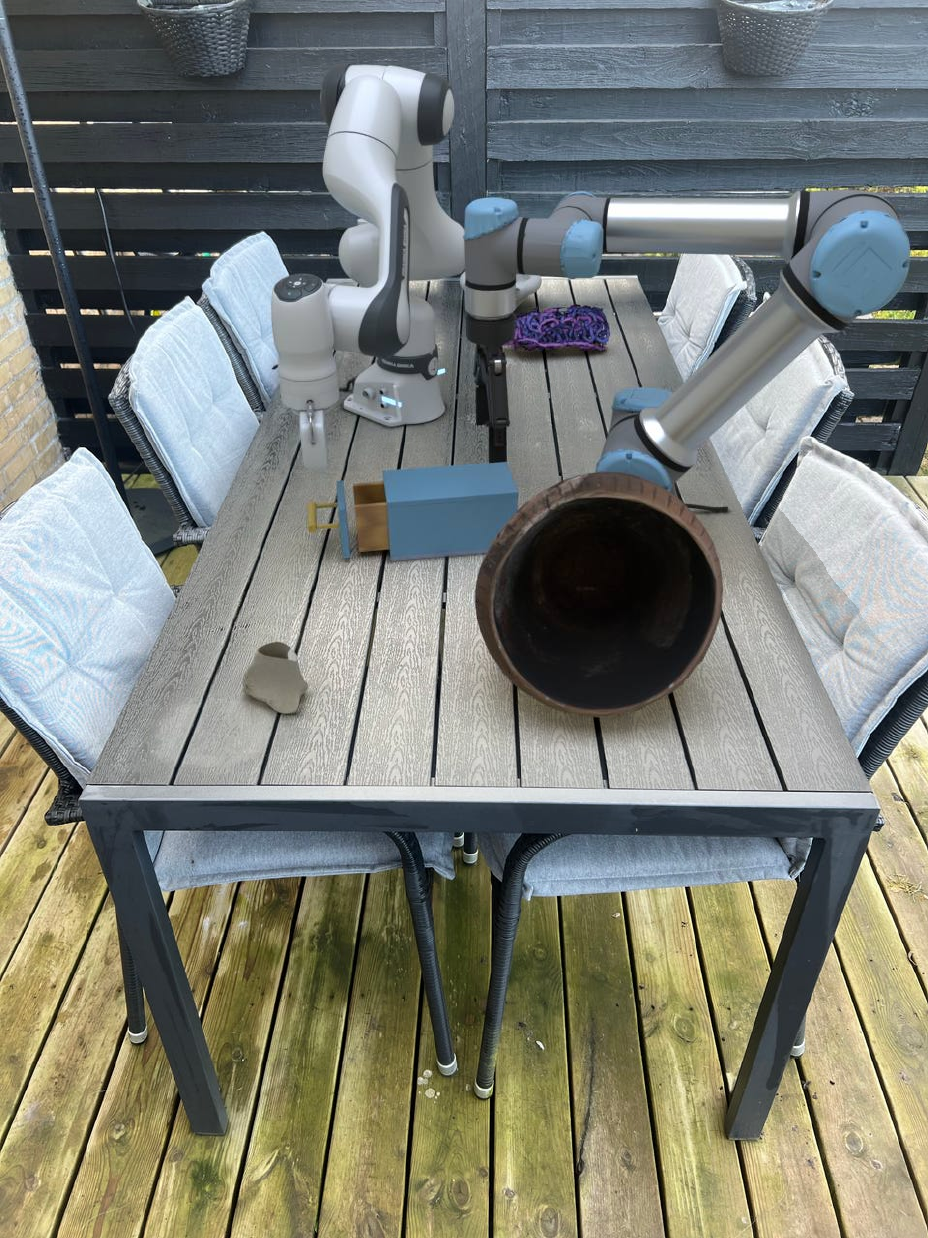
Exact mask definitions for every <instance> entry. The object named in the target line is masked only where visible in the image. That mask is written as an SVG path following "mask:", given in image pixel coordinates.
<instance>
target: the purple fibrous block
mask: <svg viewBox="0 0 928 1238" xmlns="http://www.w3.org/2000/svg"><path fill="white" fill-rule="evenodd" d="M538 308H539V307H538V306H535V307H533V308H532V309H530V311H529V312H520V313H519V314H517V315H516V333H515V337H514V339H513V340H512V341H510V342H509V343H505V344H504V345H502V350H504V347H507V346H508V347H507V349H508V348H510V347H512V348H513V353H516V352H517V351H518V349H523V350H524V351H526V352H531V353H532V352H536V351H537V350H538V351H539V352H541V351H545V349H548V350H551V351H552V353H553V354H555V350H556V348H562V349H567V348H572V347H578V348H579V349H580V352H591V351H597V352H600V353H602V351H605V352H606V346H607V345H608V344H607V342H608V341H609V340H610V337H611V332H610V324H609V322H608V320H607V316H606V314H605V313H604V308H603V307H601V308H600V307H597V306H591V305H586V304H584V305H581V304H578V303H574V304H571V305H570V306H562V307H561V306H560V307H558V306H557V307H550V308H546V309H544V310H541V311H540V312H538ZM562 309H566V310H564V311H563V310H562ZM561 310H562V311H561Z"/></svg>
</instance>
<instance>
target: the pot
mask: <svg viewBox="0 0 928 1238" xmlns="http://www.w3.org/2000/svg"><path fill="white" fill-rule="evenodd" d="M684 503H685V502H683V501H682V500H681V499H680V498H679V496H677V497H676V496H675V495H674V494H672V493H671V492H669V491H668V490H666V489H665V488H663V487H661V486H659V485H657V484H655V483H654V482H651V481H649V480H646V479H644V478H641V477H639V476H636V475H633V474H627V473H621V472H605V471H600V472H596V471H594V472H589V473H584V474H579V475H575V476H573V477H568V478H566V479H563V480H561V481H559V482H556V484H553V485H552V486H549V487H548V488H546V489H544V490H542V491H540V492H538V493H537V494H536V495H534V496H533V497H531V498H530V499H528V500H527V501H526V502H525V503H523V505H521V506H520V507H518V511H517V512H516V513H515V514H514V515H513V516H512V517H511V519H510V520H509V521H508V522H507V523H506V524H505V525H504V526H503V527H502V529H501V530H500V532H499V533H498V534H497V535H496V536H495V538H494V540H493V541H492V543H491V545H490V547H489V549H488V551H487V553H485V554H484V557H483V559H482V562H481V564H480V567H479V569H478V574H477V578H476V582H475V588H474V606H475V616H476V617H475V618H476V621H477V625H478V629H479V631H480V634H481V637H482V639H483V641H484V644H485V646H486V648H487V650H488V653H489V654H490V656H491V658H492V661H494V663H495V665H497V667H498V669H499V670H500V672H501V673H502V675H503V676H505V677H506V678H507V679H508V680H509V681H510V682H511V683H512V684H513V685H515V686H516V687H517V689H519V690H520V691H522V692H523V693H524V694H526V695H527V696H528V697H530V698H532V699H533V700H535V701H536V702H538V703H540V704H542V705H545V706H546V707H548V708H551V709H553V710H555V711H559V712H561V713H566V714H567V713H568V714H571V715H577V716H582V717H589V718H606V717H615V716H616V717H617V716H621V715H623V714H628V713H630V712H635V711H639V710H642V709H644V708H646V707H648V706H650V705H652V704H654V703H657V702H658V701H660V700H662V699H664V698H666V697H667V696H668V695H669V694H671V693H673V692H674V691H676V690H677V689H679V687H681V686H682V685H683V684H684V683H685V681H686V680H688V679H689V678H690V677H691V675H692V674H693V672H694V671H695V669H697V667H698V666H699V665H700V664H702V662H703V661H704V659H705V657H706V655H707V653H708V651H709V649H710V647H711V645H712V643H713V640H714V636H715V634H716V631H717V628H718V626H719V623H720V619H721V615H722V610H723V601H724V600H723V599H724V598H723V597H724V584H723V583H724V582H723V571H722V567H721V562H720V559H719V556H718V553H717V549H716V546H715V543H714V541H713V539H712V538H711V536H710V534H709V533H708V531H707V529H706V527H705V526H704V525H703V523H702V522H701V520H700V519H699V518H698V516H697V515H696V514H695V513H694V512H693V511H692V510H691V508H688V507H687V506H686V505H685V504H684Z"/></svg>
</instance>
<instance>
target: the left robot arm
mask: <svg viewBox="0 0 928 1238" xmlns="http://www.w3.org/2000/svg"><path fill="white" fill-rule="evenodd" d="M453 94H454V93H453V89H452V86H451V84H450V83H449V82H448V80H447V79H446V78H445V77H443V76H441V75H439V74H436V73H433V72H430V71H427V72H426V73H425V72H422V71H420V70H415V69H411V68H408V67H407V68H406V67H403V66H397V65H388V66H387V65H381V64H380V65H376V64H354V63H353V62H343V63H337V64H333V65H332V66H331V67H330V68H329V69H328V71H326V72H325V74H324V76H323V80H322V82H321V88H320V97H319V100H320V102H319V103H320V111H321V116H322V119H323V121H324V123H325V124H326V125H327V127H328V128H329V130H328V134H327V138H326V143H325V147H324V153H323V160H322V177H323V181H324V184H325V187H326V188H327V191H328V192H329V194H330V195H331V197H332V198H333V199H334V200H335V202H337V203H338V204H339V205H340V206H341V207H343V208H344V209H345V210H346V211H347V212H349V213H351V214H352V215H354V216H356V217H357V218H359V219H364V220H366V221H368V222H369V223H366V224H362V225H358V224H357V225H355V226H352V227H348V228H347V229H346V230H345V231H344V233H342V236H341V238H340V241H339V245H338V259H339V263H340V266H341V268H342V270H343V272H344V273H345V274H346V276H347V277H349V278H350V279H351V280H352V281H354V282H355V283H357V284H358V285H359V286H354V285H353V286H352V285H343V284H339V283H329V282H324V281H323V280H322V279H321V277H319V276H317V275H315V274H312V273H295V274H291V275H287V276H285V277H283V278H281V279H280V280H278V281H277V282H276V283H275V284H274V286H273V287H272V292H271V298H270V299H271V300H270V317H271V318H270V319H271V330H272V339H273V345H274V348H275V350H276V353H277V356H278V364H275V365H272V368H271V370H272V371H274V370H276V369H277V376H278V382H279V390H280V397H281V403H282V404H283V405H284V407H286V408H289V409H290V410H291V413H292V414H293V415H295V416H297V417H299V437H300V447H301V455H302V463H303V468H304V471H306V472H309V473H310V472H313V474H315V475H318V474H324V473H325V471H327V470H328V469H329V449H328V427H327V415H328V414H329V413H330V412H332V410H333V406H334V405H335V404H337V402H339V400H340V397H341V395H340V392H347V391H349V390H350V388H351V387H352V393H350V394H349V395H348V396H347V397H346V398H345V400H344V401H343V409H345V410H347V411H349V412H352V413H353V414H356V415H358V416H361V417H363V418H366V419H369V420H371V421H373V422H375V423H378V424H381V425H384V426H386V427H389V428H393V427H398V426H403V425H415V424H423V423H428V422H431V421H433V420H436V419H438V418H440V417H441V416H442V415H443V414H444V413H445V411H446V406H445V403H444V400H443V397H442V394H441V388H440V382H439V375H442V374H444V373H446V369H445V368H440V369H439V348H438V344H436V315H435V310H434V308H433V307H432V305H431V304H430V303H429V302H428V301H426V300H425V299H424V298H422V297H420V296H418V295H416V294H413V293H411V292H410V282H412V281H413V282H414V281H415V282H416V281H435V280H436V281H437V280H438V281H439V280H443V279H447V278H451V277H454V276H459V275H462V274H463V273H464V271H465V253H464V239H463V236H464V229H465V228H464V227H463V226H462V225H461V224H460V222H457V221H455V220H454V219H453V218H451V217H450V216H449V215H448V213H446V212H445V211H444V209H443V208H442V207H441V205H440V203H439V200H438V198H437V195H436V190H435V180H434V145H439V144H440V143H441V142H443V141H444V140H445V139H447V137H448V135H449V132H450V129H451V127H452V124H453V122H454V118H455V100H454V95H453ZM334 351H337V352H348V353H356V354H362V355H365V356H369V357H374V358H377V359H376V361H375V362H374V363H372V364H371V365H370V366H369V367H367V368H366V369H365V370H362V372H361V373H360V374H357V375H356V376H353V377H352V378H351V379H349V380H348V381H347V382H346V386H345V387H342V388H340V386H339V375H338V366H337V363H336V359H335V357H334Z"/></svg>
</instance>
